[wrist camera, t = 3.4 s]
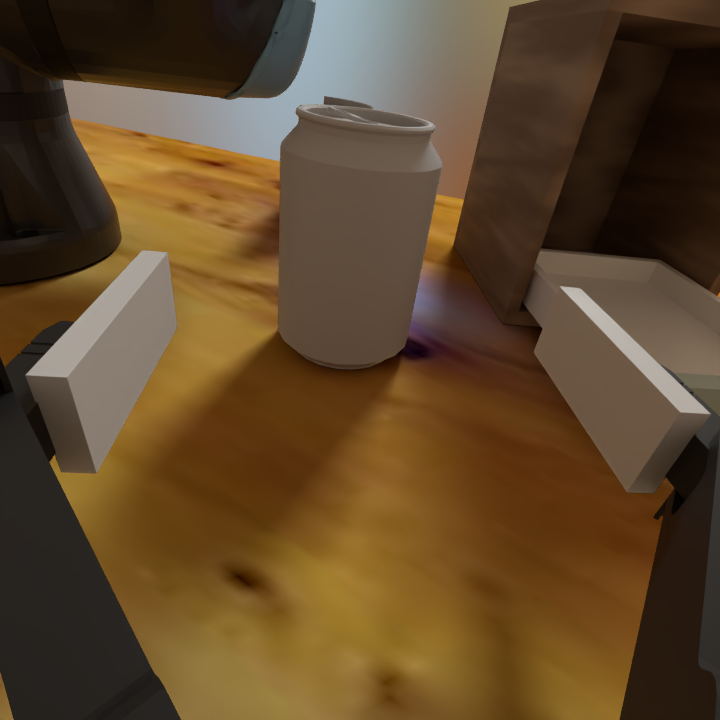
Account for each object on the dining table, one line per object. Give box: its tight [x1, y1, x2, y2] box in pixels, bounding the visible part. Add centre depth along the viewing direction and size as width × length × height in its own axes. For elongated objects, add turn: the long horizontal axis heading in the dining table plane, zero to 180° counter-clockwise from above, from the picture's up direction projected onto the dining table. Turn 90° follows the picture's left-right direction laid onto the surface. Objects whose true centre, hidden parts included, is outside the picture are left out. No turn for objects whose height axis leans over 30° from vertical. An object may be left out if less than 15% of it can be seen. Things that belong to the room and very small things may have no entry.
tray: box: [522, 248, 720, 416], centre depth 27 cm, size 12×18×3 cm
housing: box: [454, 0, 720, 327], centre depth 33 cm, size 14×15×18 cm
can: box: [278, 104, 443, 370], centre depth 23 cm, size 8×8×12 cm
